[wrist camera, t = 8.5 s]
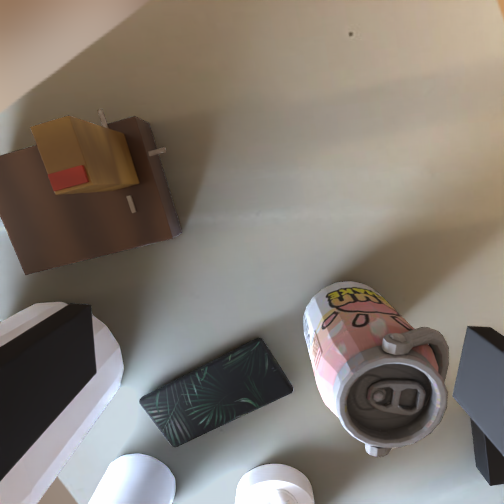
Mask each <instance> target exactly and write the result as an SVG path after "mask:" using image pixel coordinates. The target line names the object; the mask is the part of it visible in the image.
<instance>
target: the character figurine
mask: <svg viewBox="0 0 504 504" xmlns="http://www.w3.org/2000/svg"><path fill="white" fill-rule="evenodd" d="M236 504H315V503H314V496H313V490H312V486H311V483H310V481H309V480H308V479H307V477H306V476H305V475H304V474H303V473H302V472H300V471H299V470H297V469H295V468H293V467H290V466H287V465H283V464H266V465H262V466H258V467H256V468H254V469H252V470H250V471H249V472H247V473H246V474H245V475H244V476H243V477H242V479H241V480H240V482H239V484H238V487H237V493H236Z"/></svg>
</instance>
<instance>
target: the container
mask: <svg viewBox="0 0 504 504" xmlns="http://www.w3.org/2000/svg"><path fill="white" fill-rule="evenodd" d="M67 305H68V304H66V303H63V302H48V303H35V304H34V305H32V306H30V307H28V308H26V309H24V310H22V311H20V312H18V313H16V314H15V315H13V316H11V317H9V318H7V319H5V320H3V321H1V322H0V347H1V346H3V345H4V344H6V343H7V342H9V341H11V340H12V339H14V338H15V337H17V336H19V335H20V334H22V333H23V332H25V331H27V330H28V329H30V328H31V327H33V326H35V325H36V324H38V323H39V322H41V321H43V320H44V319H46V318H47V317H49V316H51V315H52V314H54V313H56V312H57V311H59V310H60V309H62V308H64V307H65V306H67ZM92 322H93V334H94V346H95V358H96V369H97V373H96V374H95V375H94V376H93V378H92V379H91V380H90V381H89V382H88V383H87V384H86V386H85V387H84V388H83V389H82V390H81V391H80V392H79V393H78V395H77V396H76V397H75V398H74V399H73V400H72V401H71V402H70V404H69V405H68V406H67V407H66V408H65V409H64V410H63V411H62V413H61V414H60V415H59V416H58V417H57V418H56V419H55V420H54V422H53V423H52V424H51V425H50V426H49V427H48V428H47V429H46V431H45V432H44V433H43V434H42V435H41V436H40V437H39V439H38V440H37V441H36V442H35V443H34V444H33V445H32V446H31V448H30V449H29V450H28V451H27V452H26V453H25V454H24V455H23V457H22V458H21V459H20V460H19V461H18V462H17V463H16V464H15V466H14V467H13V468H12V469H11V470H10V471H9V472H8V473H7V475H6V476H5V477H4V478H3V479H2V480H1V481H0V504H37V503H38V502H39V501H40V499H41V498H42V496H43V495H44V494H45V492H46V491H47V489H48V488H49V487H50V485H51V484H52V482H53V481H54V480H55V478H56V477H57V475H58V474H59V473H60V471H61V470H62V468H63V467H64V466H65V464H66V463H67V461H68V460H69V458H70V457H71V456H72V454H73V453H74V451H75V450H76V449H77V447H78V446H79V444H80V443H81V442H82V440H83V439H84V437H85V436H86V435H87V433H88V432H89V430H90V429H91V428H92V426H93V425H94V423H95V422H96V420H97V419H98V418H99V416H100V415H101V413H102V412H103V411H104V409H105V408H106V406H107V405H108V404H109V402H110V401H111V399H112V398H113V397H114V395H115V394H116V392H117V391H118V390H119V387H120V383H121V379H122V375H123V371H124V365H123V360H122V355H121V350H120V346H119V344H118V342H117V341H116V339H115V338H114V336H113V335H112V333H111V332H110V330H109V329H108V327H107V326H106V325H105V324H104V323H103V322H101V321H100V320H99V319H97V318H96V317H95V316H93V315H92Z"/></svg>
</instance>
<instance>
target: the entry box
mask: <svg viewBox="0 0 504 504" xmlns="http://www.w3.org/2000/svg"><path fill="white" fill-rule="evenodd" d="M470 419H471V417H470ZM471 427H472V435H473V444H474V452H475V460H476V467H477V468H478V470H479V471H480V472H481V474H482V475H483V477H484V478H485V479H486V481H487V482H488V483H489V485H490V486H492V485H499V484H504V456H503V455H502V454H501V452H500V451H499V450H498V449H497V448H496V447H495V445H494V444H493V443H492V442H491V441H490V440H489V438H488V437H487V436H486V435H485V434H484V433H483V431H482V430H481V429H480V428H479V427H478V426H477V424H476V423H475V422H474V421H473V420H472V419H471Z"/></svg>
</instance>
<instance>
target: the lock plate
mask: <svg viewBox="0 0 504 504" xmlns="http://www.w3.org/2000/svg"><path fill="white" fill-rule="evenodd" d="M98 113H99V116H100V119H101V122H102V125H103V127H106V128H109V129H112V130H115V131H118V132H121V133H124V136H125V139H126V142H127V145H128V148H129V151H130V154H131V157H132V161H133V164H134V167H135V170H136V173H137V176H138V179H139V182H140V184H137V185H133V186H129V187H125V188H122V189H118V190H114V191H105V192H90V193H76V194H61V195H56V194H55V192H54V190H53V188H52V185H51V183H50V180H49V177H48V173H47V171H46V168H45V165H44V163H43V160H42V157H41V155H40V152H39V149H38V147H37V145H35V146H31V147H28V148H25V149H21V150H18V151H14V152H11V153H8V154H4V155H1V156H0V217H1V219H2V222H3V224H4V226H5V229H6V231H7V233H8V236H9V238H10V240H11V243H12V245H13V247H14V250H15V252H16V255H17V257H18V259H19V262H20V264H21V266H22V269H23V271H24V273H25V275H28V274H32V273H36V272H40V271H44V270H48V269H52V268H56V267H60V266H64V265H68V264H72V263H77V262H81V261H85V260H89V259H93V258H97V257H101V256H105V255H109V254H113V253H117V252H121V251H125V250H129V249H133V248H137V247H141V246H145V245H149V244H153V243H157V242H161V241H165V240H169V239H173V238H175V237H176V236H178V235H179V234H181V233H182V230H181V226H180V223H179V220H178V217H177V213H176V210H175V207H174V203H173V200H172V197H171V194H170V190H169V187H168V184H167V180H166V177H165V174H164V171H163V167H162V164H161V161H160V157H159V154H160V153H164V152H166V148H165V147H163V148H159V149H157V148H156V144H155V141H154V138H153V134H152V131H151V128H150V125H149V123H148V122H146V121H144V120H142V119H140V118H138V117H136V116H134V117H130V118H127V119H123V120H120V121H116V122H113V123H110V124H107V121H106V118H105V115H104V112H103V109H100V110H98Z"/></svg>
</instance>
